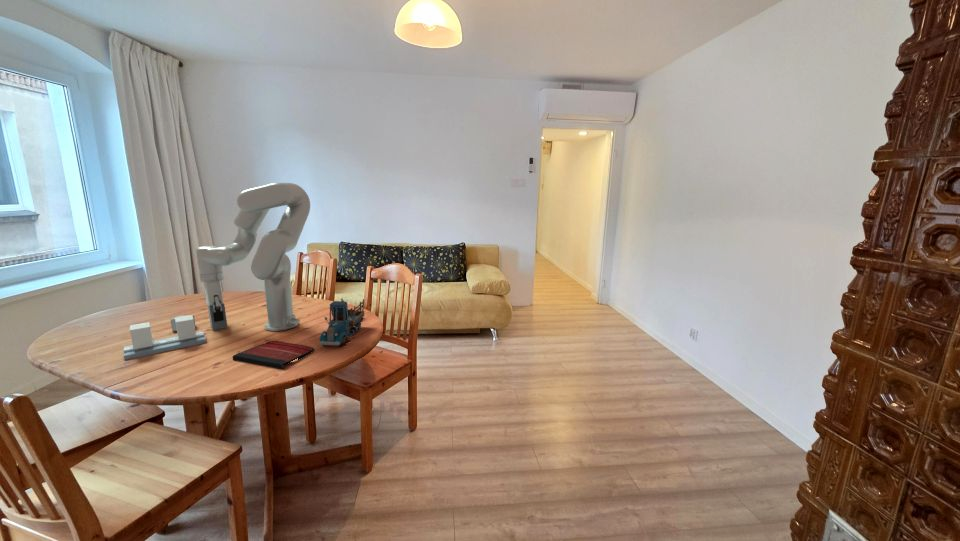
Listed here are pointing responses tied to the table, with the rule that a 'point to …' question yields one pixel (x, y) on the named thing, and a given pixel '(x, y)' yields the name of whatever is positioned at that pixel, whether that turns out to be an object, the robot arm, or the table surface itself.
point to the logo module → (220, 323)
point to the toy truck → (342, 323)
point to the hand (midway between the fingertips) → (217, 318)
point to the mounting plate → (163, 347)
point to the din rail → (163, 342)
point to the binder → (273, 354)
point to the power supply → (175, 322)
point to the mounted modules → (144, 336)
